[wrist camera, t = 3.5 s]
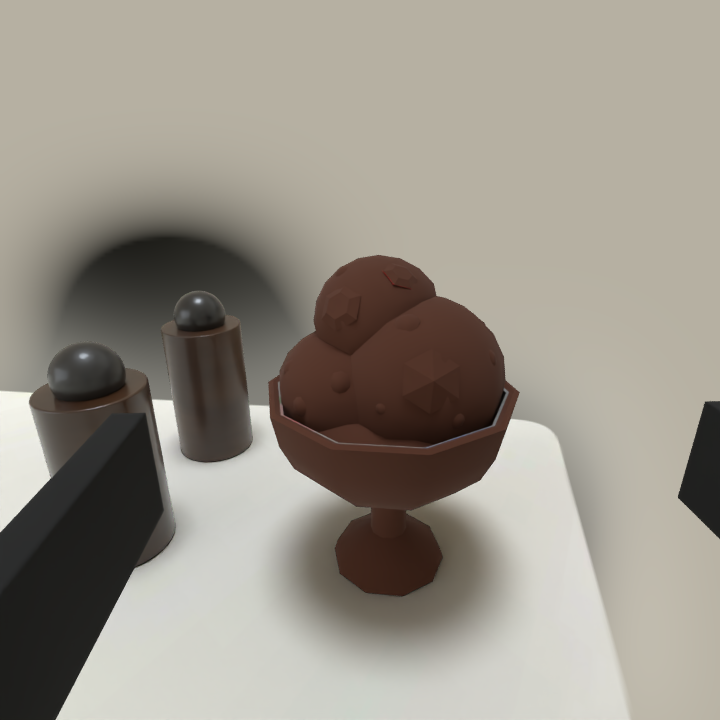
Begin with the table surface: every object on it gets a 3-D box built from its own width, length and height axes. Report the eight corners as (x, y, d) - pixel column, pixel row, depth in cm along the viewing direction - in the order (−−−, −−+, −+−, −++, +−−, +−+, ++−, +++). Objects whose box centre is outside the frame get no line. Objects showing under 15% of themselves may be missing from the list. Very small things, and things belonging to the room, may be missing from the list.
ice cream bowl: (236, 598, 23) (191, 278, 17) (344, 470, 32) (338, 236, 26) (463, 694, 18) (502, 311, 13) (511, 514, 28) (545, 248, 22)
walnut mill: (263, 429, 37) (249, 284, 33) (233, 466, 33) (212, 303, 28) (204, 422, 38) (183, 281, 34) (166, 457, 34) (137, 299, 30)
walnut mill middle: (193, 514, 28) (161, 329, 24) (137, 581, 24) (86, 368, 19) (117, 502, 29) (75, 324, 25) (51, 564, 25) (-15, 359, 20)
